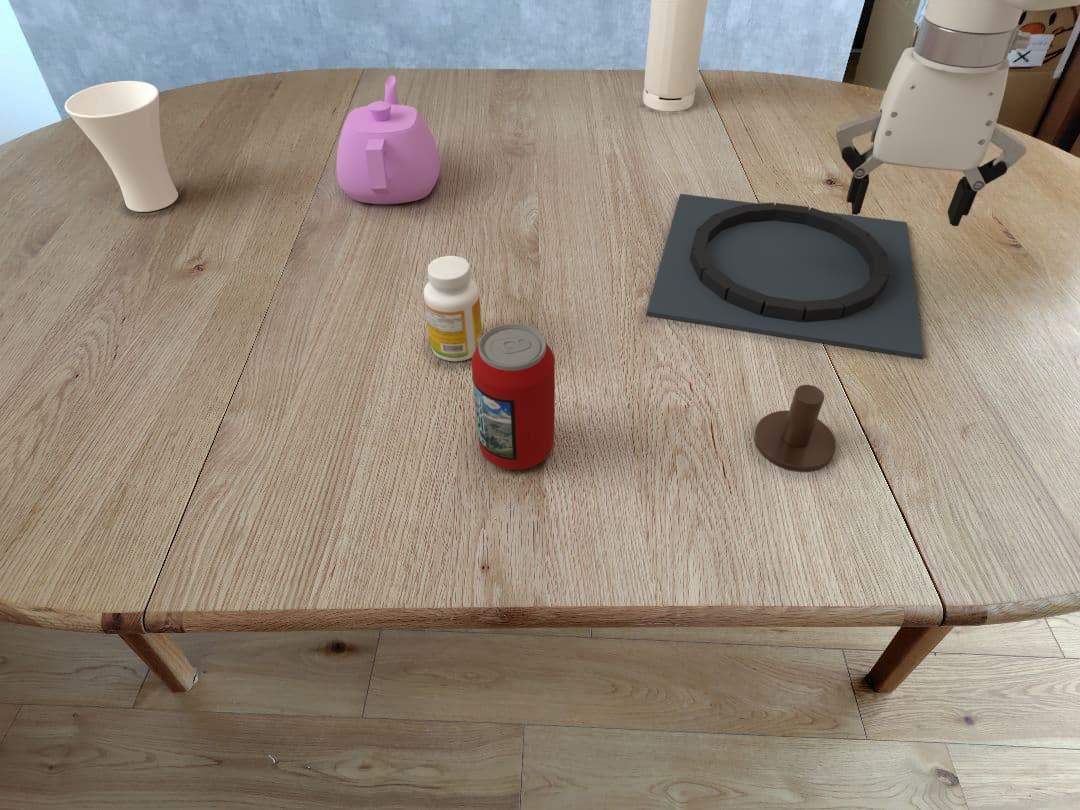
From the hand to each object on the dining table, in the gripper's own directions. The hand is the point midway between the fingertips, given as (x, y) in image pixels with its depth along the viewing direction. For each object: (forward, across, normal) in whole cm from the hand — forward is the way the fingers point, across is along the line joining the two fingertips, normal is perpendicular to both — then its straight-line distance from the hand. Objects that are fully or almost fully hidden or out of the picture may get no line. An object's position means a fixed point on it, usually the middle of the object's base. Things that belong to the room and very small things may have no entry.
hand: (903, 214), depth 80 cm
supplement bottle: (+9, +42, +22) cm, 49 cm away
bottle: (+8, +30, -44) cm, 54 cm away
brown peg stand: (+9, +8, +27) cm, 30 cm away
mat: (+9, +10, -1) cm, 14 cm away
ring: (+8, +10, 0) cm, 13 cm away
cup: (+8, +91, +4) cm, 92 cm away
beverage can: (+9, +32, +34) cm, 48 cm away
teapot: (+8, +62, -8) cm, 63 cm away
